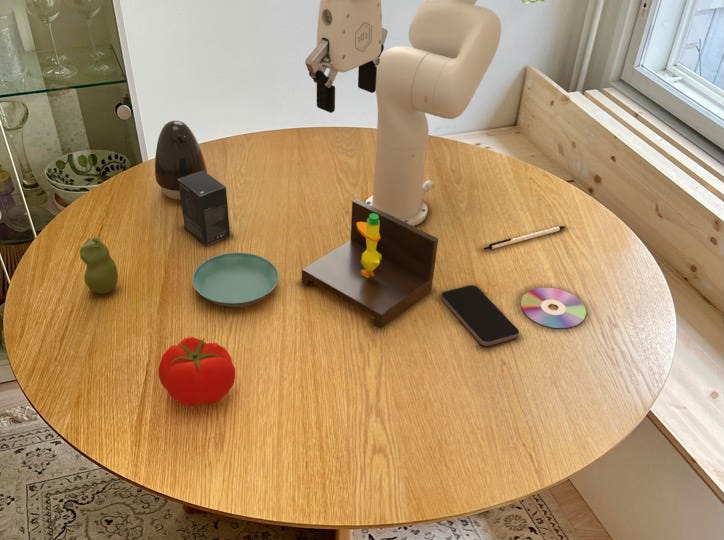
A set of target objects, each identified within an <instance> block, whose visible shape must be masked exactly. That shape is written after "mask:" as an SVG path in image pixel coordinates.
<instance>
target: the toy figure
mask: <svg viewBox="0 0 724 540" xmlns="http://www.w3.org/2000/svg"><path fill="white" fill-rule="evenodd" d="M378 218H379V216H378V215H377V214H375V213H371V214H370V215H369V218H368V219H367V223H366V222H358V223H356V224H357V229H358V231H359V232H360V233H361V234H362V235H363V236H364V237H365V238H366V244H367V250H366V251H365V252H364V253H363V254H362V260H361V263H362V265H363V266H364V268H365V269H366V270H361V274H362V275H363V276H364V277H366V278H369V277H370V276H372V277H373V276H374V273H373V270H374V269H375V268H376V267H377V266H378V265H379V263H380V262H379V261H380V260H381V258H382V255H381V254H380V253H378V252H377V251H376V247H377V242H378V241H379V240H380V234H379V225H380V224H379V223H380V221H379V219H378ZM369 275H370V276H369Z"/></svg>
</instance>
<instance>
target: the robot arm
mask: <svg viewBox="0 0 724 540" xmlns="http://www.w3.org/2000/svg"><path fill="white" fill-rule="evenodd" d="M477 1H478V0H422V1H421V2H420V5H419V6H418V7H417V10H416V12H415V14H414V16H413V17H412V20H411V22H410V24H409V27H408V41H409V43H410V45H411V46H406V45H396V46H391V47H389V48H387V49H386V50H384V49H385V45H384V44H385V42H386V39H387V38H388V30H387V29H386V28H383V11H382V9H383V8H382V1H381V0H320V2H319V7H318V8H319V9H318V18H317V29H316V30H317V31H316V47H314V49H313V50H312V51H311V52H310V54H309V55H308V56H307V58H306V59H305V62H304V63H305V66H306V68H307V71H308V75H309V76H310V78H311V79H312V80H313V83H315V84H316V107H317V108H318V109H320V110H323V111H325V112H327V113H329V114H332V113H334V112H335V110H336V86H335V85H333V84H334V81H335V79H336V77H337V74H338V73H342V74H343V73H347V72H349V71H352V70H354V69H356V68H358V69H357V70H358V72H357V73H358V75H357V87H358V88H359V89H360V90H363V91H365V92H367V93H371V94H374V93H375V96H376V105H377V108H376V109H377V123H376V125H377V126H376V128H377V129H376V138H375V139H376V141H375V154H374V155H375V156H374V169H373V170H374V171H373V183H372V184H373V187H372V195H370V196H369V197H367V199H366V200H365V201H364V202H365V203H367V204H369V205H371V206H373V207H375V208H377V209H379V210H381V211H383V212H385V213H387V214H389V215H391V216H393V217H395V218H397V219H399V220H401V221H403V222H405V223H408V224H410V225H412V226H414V227H416V226H418V225H419V224H421V223H423V221H425V220H426V218H427V215H428V210H429V208H428V205H427V203H426V201H424V199H423V198H424V196H425V194H426V193H428V192H429V191H431V190H432V189H433V188H434V186H435V185H434V181H433V180H431V179H427V180H426V181H424V177H425V167H426V160H427V151H428V142H429V132H430V131H429V122H428V118H427V114H428V115H431V116H434V117H439V118H441V119H446V120H454V119H456V118H458V117H460V116H461V115H462V114H463V113H464V112H465V111H466V110H467V108H468V107H469V105H470V103H471V101H472V100H473V97H474V96H475V94H476V92H477V90H478V88H479V86H480V85H481V82H482V81H483V79H484V77H485V75H486V73H487V72H488V70H489V67H490V66H491V63H492V62H493V59H494V57H495V55H496V53H497V50H498V47H499V44H500V41H501V34H502V24H501V19H500V18H499V16H498V15H497V13H496V12H495V11H493V10H492V9H489V8H487V7H484V6H480V5H477ZM327 69H328V74H327V75H326V74H325V73H326V70H327Z"/></svg>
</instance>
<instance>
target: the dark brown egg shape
mask: <svg viewBox="0 0 724 540" xmlns="http://www.w3.org/2000/svg"><path fill="white" fill-rule="evenodd" d="M200 171H205V172H206V173H207V174H208V169H207V165H206V161H205V157H204V154H203V152H202V149H201V147H200V144H199V142H198V140H197V138H196V136H195V134H194V132H193V131H192V130H191V129H190V127H189V126H188V125H187V124H186V123H185V122H183V121H181V120H171V121H168V122H166V123H165V124H164V125H163V127H162V128H161V131H160V133H159V136H158V139H157V144H156V149H155V158H154V177H155V181H156V183H157V184H158V186H159V188H160V190H161V191H162V192H163V193H164V194H165V196H167V197H168V198H171V199H172V200H176V201H181V198H180V191H179V184H178V179H179V178H181V177H185V176H188V175H191V174H194V173H197V172H200Z"/></svg>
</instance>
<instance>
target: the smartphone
mask: <svg viewBox="0 0 724 540" xmlns="http://www.w3.org/2000/svg"><path fill="white" fill-rule="evenodd" d="M440 299H441V300H442V302H443V303H444V304H445V305H446V306H447V308H449V310H450V311H451V312H452V313H453V314H454V315H455V317H456V318H457V319H458V320H459V321H460V322H461V323H462V324H463V325H464V327H465V328H466V329H467V330H468V331H469V333H471V335H472V336H473V337H474V338H475V339H476V340H477V342H478V343H479V344H480V345H482V346H487V347H488V346H492V345H496V344H500V343H503V342H507V341H510V340H514V339H517V338H518V337H519V335H520V330H519V328H517V326H516V325H515V324H514V323H513V322H512V321H511V320H510V319H509V318H508V317H507V316H506V315H505V314H504V313H503V312H502V311H501V310H500V308H498V307H497V306H496V305H495V304H494V303H493V302H492V301H491V299H489V297H488V296H487V295H486V294H485V293H484V292H483V291H482V290H481V289H480V288H479V287H478V286H476V285H474V284H469V285H465V286H462V287H461V286H460V287H458V288H453V289H449V290H445V291H442V292H441V295H440Z"/></svg>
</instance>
